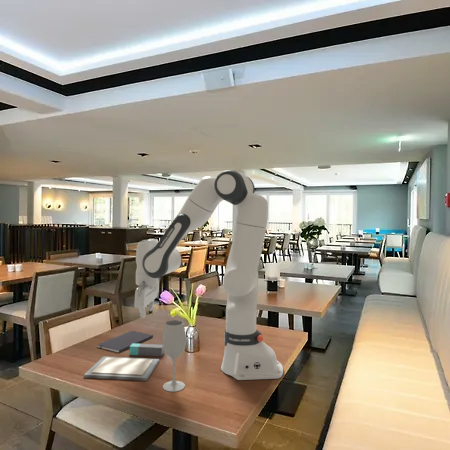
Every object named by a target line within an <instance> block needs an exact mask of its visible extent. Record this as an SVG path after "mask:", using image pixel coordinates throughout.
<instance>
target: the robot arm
mask: <svg viewBox="0 0 450 450" xmlns="http://www.w3.org/2000/svg"><path fill="white" fill-rule="evenodd" d="M222 201H225V202H227V203H230V204H231V205H233V206H236V208H237V215H236V219H235V220H236V221H235V227H234V232H233V238H232V242H231V247H230V250H229V254H228V258H227V261H226V266H225V270H224V273H223V274H224V275H223V279H222V280H223V281H222V283H223V288H224V290H225V291H226V292H227V299H226V307H225V329H224V332H223V333H224V334H223V338H224V339H223V342H224V343H223V344H224V353H223V359H222V362H221V366H220V370H221V371H222V372H223V374H226V375H228V376H231V377H233V378H234V379H235V380H237V381H248V380H249V381H251V380H273V379H280V378H283V375H284V368H283V367H284V366H283V364H282V363H281V362H280V361H279V360H278V357H277V355H276V352H275V350H274V349H273V348H272V347H270V346H269V345H268V344H266V343H265V342H264V341H263V340H264V337H263V334H262V332H261V330H260V329H259V330H258V329H257V307H258V306H257V305H258V293H259V292H258V291H259V270H258V269H259V266H260V265H259V264H260V261H261V255H262V253H263V246H264V241H265V236H266V230H267V225H268V218H269V217H268V216H269V203H268V200H267V199H266V198H265V197H264V196H262V195H260V194H257V193H256V188H255V183H254V181H253V180H252V179H251V178H250V177H248V176H247V175H245V174H244V173H242V172H241V171H236V170H233V169H228V170H223V171H222V172H220V173H219V174H218V175H217V176H216V178H215V177H212V176H204V177H202V178H201V179H200V181H198V183H197V184H196V185H195V187H194V188H193V189H192V190H191V192H190V194H189V195H188V196H187V198H186V200H185V202H184V203H183V205H182V206H181V209H180V211H179V212H178V213H177V215H176V216H175V218H174V219H173V221H172V222H171V223H170V225H169V226H168V227H167V228H166V230H165V232H164V233H163V235H162V236H161V237H160V239H159V240H158V239H156V238H149V239H142V240H140V241H139V242H137V245H136V251H135V263H136V270H135V285H137V287H136V289H135V292H134V302H133V303H134V308H135V309H138V311H139V317H140V318H141V319H144V318H145V317H146V316H147V312H152V311H153V306H154V302H155V299H157V298H158V295H159V288H160V287H159V285H160V281H161V278H162V277H163V276H165V275H168V274H171V273H172V272H175V271H177V270H179V268H181V265H182V260H183V259H182V255H181V253H180V251H179V250H177V249H176V248H177V247H178V245H179V244H180V243H181V241H182V240H183V238H184V237H185V236H186V235H188V234H190V233H191V232H193V231H195V230H197V229H199V228H201V227H203V226H204V225H205V224H206V223H207V222H208V220H209V219H210V218H211V217H212V215H213V214H214V212H215V211H216V208H217V207H218V205H219V204H220V203H221V202H222ZM146 307H147V308H146ZM146 309H147V312H146Z"/></svg>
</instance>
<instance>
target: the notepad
mask: <svg viewBox="0 0 450 450" xmlns="http://www.w3.org/2000/svg"><path fill="white" fill-rule="evenodd" d="M159 363H160V358H147V357H146V358H144V357H127V356H126V357H125V356H124V357H122V356H119V357H118V356H102V357H101V358H100V359H99V360H98V361H96V363H95V364H94V365H93V366H92V367H90V368H89V369H88V370H87V371H86V372H85V373H84V374H83V378H85V379H87V378H88V379H104V380H105V379H107V380H124V381H125V380H128V381H145V382H146V381H148V380H149V379H150V377H151V375H152V373H153V372H154V371H155V369H156V367H157V366H158V365H159Z"/></svg>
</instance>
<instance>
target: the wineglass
mask: <svg viewBox="0 0 450 450" xmlns="http://www.w3.org/2000/svg"><path fill="white" fill-rule="evenodd" d="M162 333H163V334H162V341H161V345H163V350H164V354H166V355H167V356H168V357H169V358H171V359H172V380H170V381H167V382H165V383H164V384H163V385H162V389H163V390H164V391H165V392H169V393H175V392H180V391H182V390H184V389H185V388H186V384H185V383H184V382H183V381H180V380H176V360H177V358H179V356H181V355H182V354H183V352H184V351H185V349H186V345H187V337H186V328H185V324H184V321H183V320H180V319H179V320H176V319H175V320H174V319H171V320H167V321H165V323H164V327H163V332H162Z"/></svg>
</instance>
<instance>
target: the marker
mask: <svg viewBox="0 0 450 450" xmlns="http://www.w3.org/2000/svg"><path fill="white" fill-rule="evenodd" d="M164 354H165V351H164V350H163V345H162V344H155V343H154V344H153V343H140V344H135V343H133V344H132V345H131V346H130V348H129V356H147V357H163V355H164Z"/></svg>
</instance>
